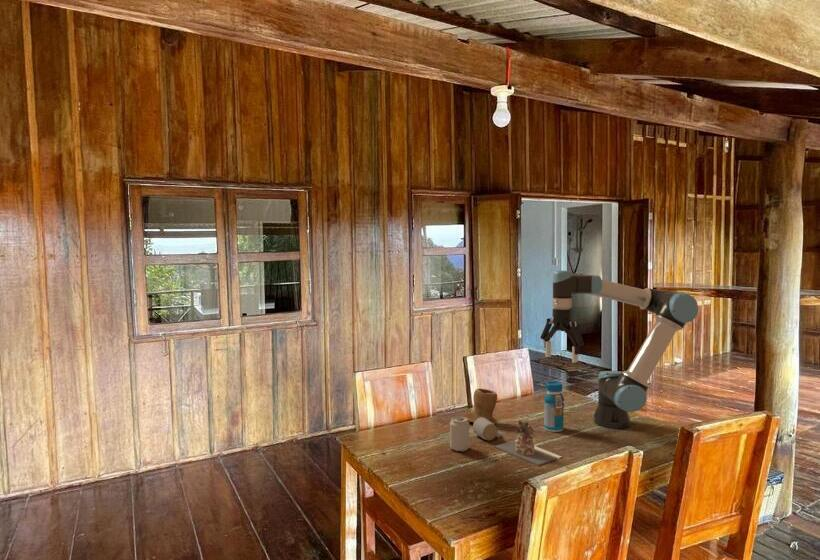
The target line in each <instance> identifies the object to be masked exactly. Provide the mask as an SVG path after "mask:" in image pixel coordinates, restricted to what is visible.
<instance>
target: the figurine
mask: <svg viewBox="0 0 820 560" xmlns="http://www.w3.org/2000/svg"><path fill="white" fill-rule="evenodd" d="M517 423H518V424H519V425H518V426H517V437H516V439H515V440H516V446H515V450H516V452H517V453H518V454H520V455H533V454H534V453H535V452H534V446H535V445H534V438H533V435H534V429H533V428H532V425H531V423H530V422H528V421H527V420H524V421H523V422H522V420H518V421H517ZM520 429H521V430H520Z"/></svg>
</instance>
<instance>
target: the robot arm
mask: <svg viewBox="0 0 820 560" xmlns="http://www.w3.org/2000/svg"><path fill="white" fill-rule="evenodd" d="M576 294H577V295H579V294H581V295H582V294H585V295H591V296H595V297H598V298H604V299H607V300H612V301H616V302H620V303H624V304H629V305H632V306H636V307H639V308H640V310H642V311H643V310H644V311H647V312H650V313H653V314H654V317H655V323H654V324H653V326H652V327H651V329H650V331H649V332H648V335H647V336H646V338H645V340H644V342H643V343H642V344H641V346H640V348H639V350H638V352H637V353H636V355H635V357H634V359H632V362H631V363H630V365H629V367H628V369H627V370H624V371H621V370H620V371H618V370H603V371H600V372H599V373H598V378H597V380H598V384H597V385H598V388H597V389H598V391H597V395H598V396H597V407H596V410H595V412H594V415H593V422H594V423H595V424H596V425H598V426H601V427H603V428H609V429H610V428H611V429H625V428H628V427H630V426H631V419H630V415H629V413H633V412H634V413H635V412H638V411H640V410H641V409H642V408H643V407H644V406H645V405H646V403H647V399H648V398H647V393H646V392H647V390H648V389H649V387H650V386H649V383H648V381H649V379H650V377H651V376H652V374H653V372H654V371H655V369H656V368H657V365H658V364H659V361H660V360H661V359H662V357H663V355H664V353H665V352H666V350H667V348H668V346H669V345H670V343H671V341H672V340H673V338H674V336H675V334H676V333H677V331H682V330H683V329H684V327H685V325H686V324H687V323H690V322H692V321H694V320H695V319H696V318H697V316H698V314H699V304H698V302H697V300H696V298H695V297H694V296H692V295H691V294H688V293H686V292H682V291H674V290H665V289H655V288H649V287H646V288H644V289H642V288H639V287H635V286H631V285H626V284H622V283H618V282H613V281H610V280H605V279H602V277H601V276H600V275H594V274H589V275H587V274H580V273H576V272H574V273H573V271H571V270H555V271H554V272H553V274H552V307H553V308H552V315H551V316H552V317H548V318H547V319H546V323H545V325H544V329H543V330H542V333H541V335H540V340H543V341H544V349H545V358H549V357H552V338H553V336H554V335H555V334H556V333H557V332H558V331H561V332H564V333H565V334H566V335H567V336H568V338H569V340H570V342H571V343H572V347H571V348H572V349H571V350H572V352H571V353H572V354H571V363H574V364H575V363H579V355H580V350H581V349H580V347H581V346H584V345H585V342H584V339H583V337H582V334H581V332H580V329H579V327H578V321H577V320H576V321H572V320H571V319H572V309H571V308H572V305H573V303H572V301H573V300H572V299H573V296H572V295H576Z"/></svg>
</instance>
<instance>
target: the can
mask: <svg viewBox="0 0 820 560" xmlns="http://www.w3.org/2000/svg"><path fill="white" fill-rule="evenodd" d="M467 420H468V419H467V418H465V417H460V416H454V417H452V418H451V420H450V422H449V447H450V449H453V450H452V451H454V450H455V452H458V451H461V452H467V450H468V449H470V422H469V421H467Z"/></svg>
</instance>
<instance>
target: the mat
mask: <svg viewBox="0 0 820 560" xmlns="http://www.w3.org/2000/svg"><path fill="white" fill-rule="evenodd" d="M515 446H516V442H515V441H514V440H510V441H507V442H503V443H500V444H497V445H494V448H496V449H498V450H500V451H503V452H505V453H508V454H509V455H512V456H515V457H517V458H519V459H521V460H523V461H526V462H527V463H530V464H533V465H536V466H537V467H540V466H541V465H545V464H547V463H551V462H553V460H554V461H557V460H558V458H555V457H553V456H550V455H548V454H545V453H543V452H540V451H538V450H535V449H534V452H535V453H534V454H533V455H520V454H518V453H517V452H516V450H515ZM550 461H551V462H550Z"/></svg>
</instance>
